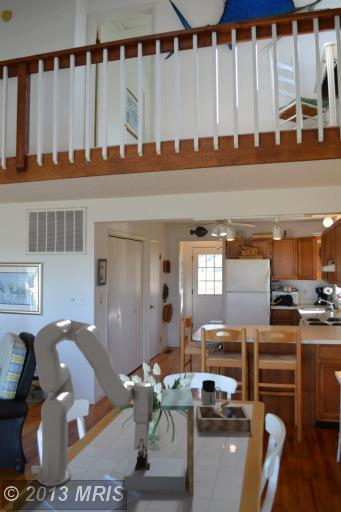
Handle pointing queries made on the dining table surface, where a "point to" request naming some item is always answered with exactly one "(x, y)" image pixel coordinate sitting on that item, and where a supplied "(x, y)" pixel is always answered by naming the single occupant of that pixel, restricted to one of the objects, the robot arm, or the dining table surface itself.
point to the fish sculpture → (222, 411)
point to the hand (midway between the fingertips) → (142, 461)
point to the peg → (146, 462)
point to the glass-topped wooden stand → (184, 401)
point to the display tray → (223, 420)
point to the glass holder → (209, 393)
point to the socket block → (156, 475)
